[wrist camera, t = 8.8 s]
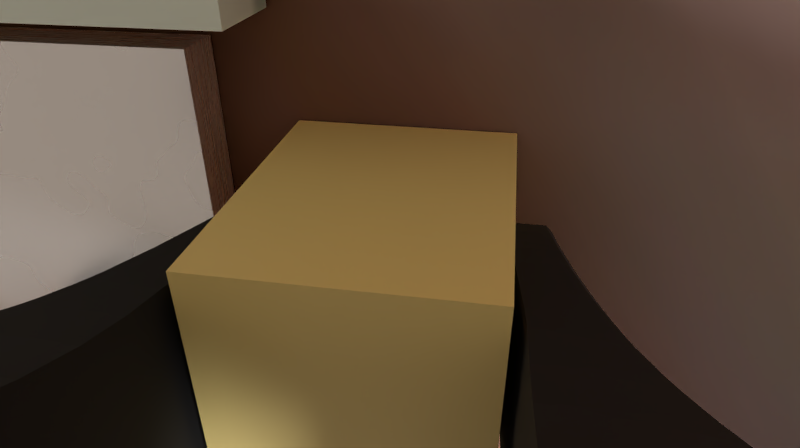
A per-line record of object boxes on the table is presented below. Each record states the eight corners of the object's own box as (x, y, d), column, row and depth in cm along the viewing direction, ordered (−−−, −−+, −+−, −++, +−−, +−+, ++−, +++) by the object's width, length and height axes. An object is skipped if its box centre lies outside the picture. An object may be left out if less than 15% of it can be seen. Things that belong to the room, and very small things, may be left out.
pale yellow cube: (517, 133, 11) (513, 307, 7) (499, 312, 13) (487, 535, 9) (299, 120, 11) (165, 271, 7) (314, 293, 13) (217, 492, 9)
